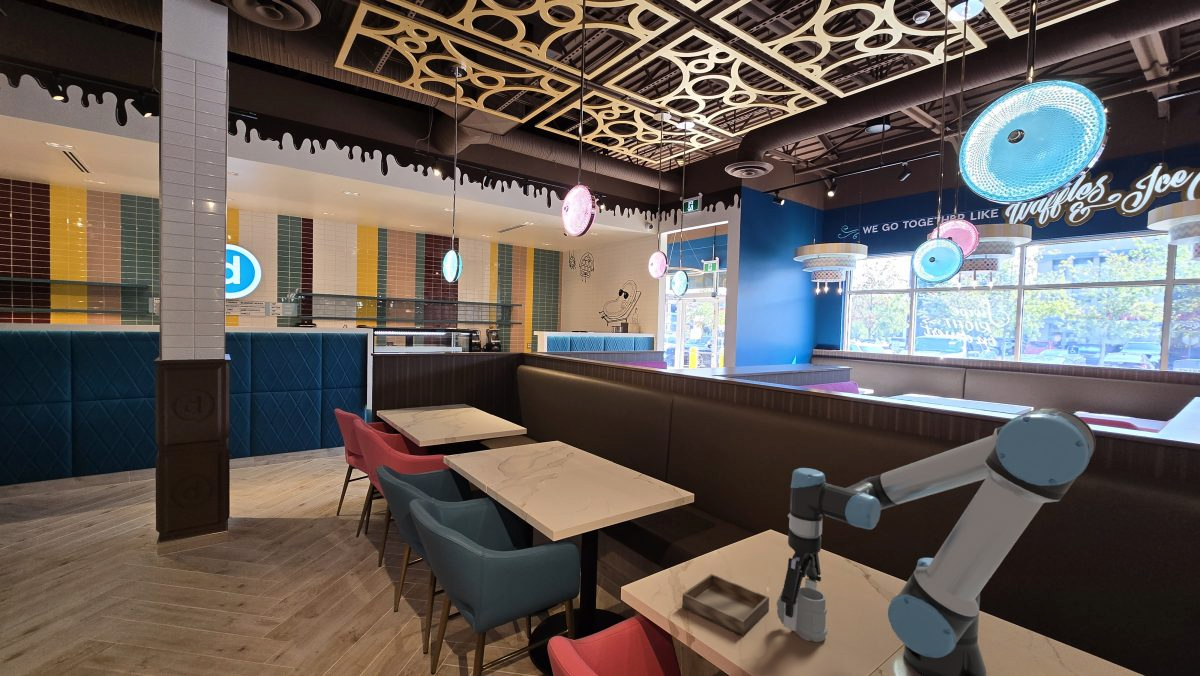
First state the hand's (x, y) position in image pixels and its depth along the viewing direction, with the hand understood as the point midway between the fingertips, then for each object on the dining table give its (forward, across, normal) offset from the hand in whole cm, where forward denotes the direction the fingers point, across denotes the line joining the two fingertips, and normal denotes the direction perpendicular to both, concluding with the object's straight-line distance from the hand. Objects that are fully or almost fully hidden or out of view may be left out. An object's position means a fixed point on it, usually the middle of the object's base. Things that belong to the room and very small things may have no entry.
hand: (800, 616), depth 122 cm
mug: (+4, 0, 0) cm, 4 cm away
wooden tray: (+4, +5, -18) cm, 19 cm away
